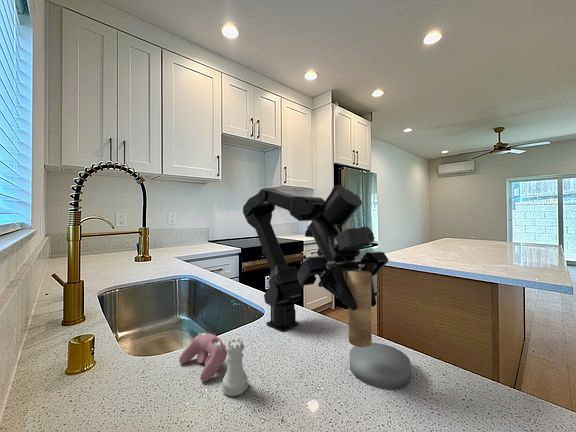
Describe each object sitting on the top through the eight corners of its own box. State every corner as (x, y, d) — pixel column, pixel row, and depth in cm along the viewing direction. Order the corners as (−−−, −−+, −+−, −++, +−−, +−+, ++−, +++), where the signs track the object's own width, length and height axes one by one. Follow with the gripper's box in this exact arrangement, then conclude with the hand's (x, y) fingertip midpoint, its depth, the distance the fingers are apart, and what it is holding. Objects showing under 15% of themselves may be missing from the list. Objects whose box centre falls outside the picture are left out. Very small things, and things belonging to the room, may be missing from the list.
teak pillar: (344, 341, 46) (344, 272, 46) (355, 334, 48) (355, 269, 49) (364, 349, 43) (364, 276, 43) (375, 341, 46) (375, 272, 46)
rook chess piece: (216, 392, 42) (215, 344, 43) (233, 377, 46) (233, 334, 46) (236, 401, 40) (236, 351, 40) (253, 384, 44) (253, 339, 44)
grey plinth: (339, 370, 48) (339, 357, 48) (365, 348, 56) (365, 337, 56) (398, 398, 41) (398, 383, 41) (418, 368, 49) (418, 355, 49)
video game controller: (221, 384, 47) (234, 344, 49) (200, 383, 44) (216, 341, 46) (194, 363, 54) (208, 329, 56) (175, 362, 51) (190, 326, 53)
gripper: (303, 212, 45) (341, 290, 35) (381, 213, 53) (430, 276, 43) (285, 251, 53) (313, 324, 42) (356, 246, 60) (393, 307, 50)
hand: (365, 307), depth 44 cm, fingers closed on teak pillar, 4 cm apart
